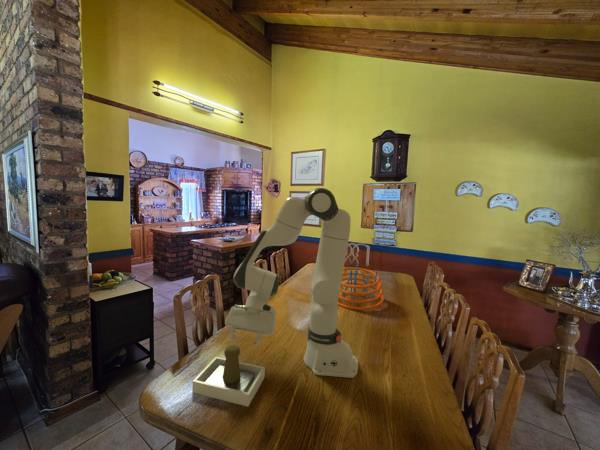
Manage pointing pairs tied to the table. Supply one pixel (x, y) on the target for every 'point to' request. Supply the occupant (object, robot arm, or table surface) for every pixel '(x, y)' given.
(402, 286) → the table surface
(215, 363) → the tote
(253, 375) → the tin box
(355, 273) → the toy basket
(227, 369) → the cork
